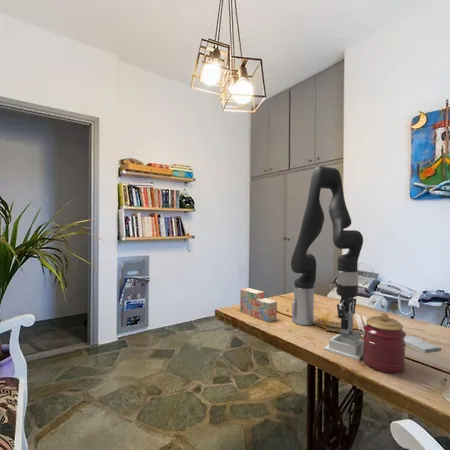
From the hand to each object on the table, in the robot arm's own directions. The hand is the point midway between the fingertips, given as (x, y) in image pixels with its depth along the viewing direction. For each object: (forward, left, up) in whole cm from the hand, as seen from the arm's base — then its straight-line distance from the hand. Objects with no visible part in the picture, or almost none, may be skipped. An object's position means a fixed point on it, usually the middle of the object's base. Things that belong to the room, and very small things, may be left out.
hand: (346, 327), depth 113 cm
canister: (+14, -2, -9) cm, 17 cm away
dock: (0, 0, -9) cm, 9 cm away
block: (+2, 0, -3) cm, 4 cm away
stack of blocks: (-49, +11, -9) cm, 51 cm away
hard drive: (+19, +25, -10) cm, 33 cm away
